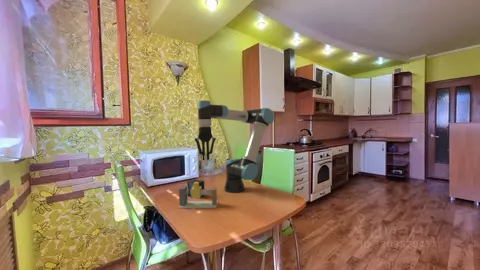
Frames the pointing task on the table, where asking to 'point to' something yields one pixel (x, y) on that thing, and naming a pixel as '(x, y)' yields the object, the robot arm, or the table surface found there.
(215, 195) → the rail
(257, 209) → the table surface
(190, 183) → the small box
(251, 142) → the robot arm
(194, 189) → the sleeve
